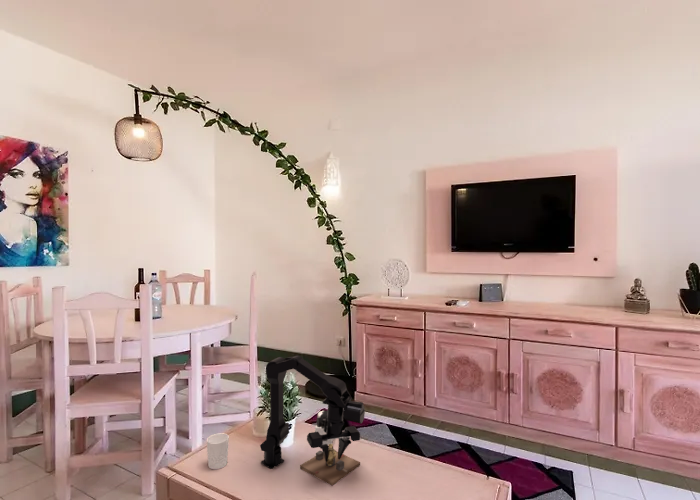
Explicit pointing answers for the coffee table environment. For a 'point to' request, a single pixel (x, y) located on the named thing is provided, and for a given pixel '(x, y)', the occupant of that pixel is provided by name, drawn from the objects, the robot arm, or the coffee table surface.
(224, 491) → the coffee table surface
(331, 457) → the crank handle
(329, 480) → the post base
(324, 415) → the medicine bottle
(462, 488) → the coffee table surface
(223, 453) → the white cup
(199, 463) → the coffee table surface
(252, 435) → the coffee table surface
